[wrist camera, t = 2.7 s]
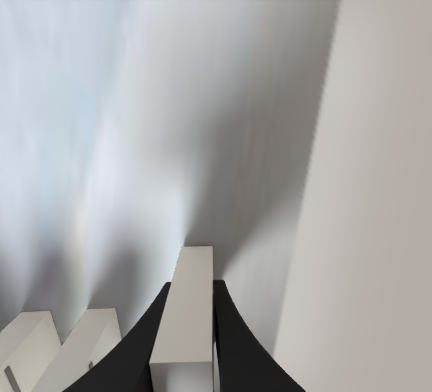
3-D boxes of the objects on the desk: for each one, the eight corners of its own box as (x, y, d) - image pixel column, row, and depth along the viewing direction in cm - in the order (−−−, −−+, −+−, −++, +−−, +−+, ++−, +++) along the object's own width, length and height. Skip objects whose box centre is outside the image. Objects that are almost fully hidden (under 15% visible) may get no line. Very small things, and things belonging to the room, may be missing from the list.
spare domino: (214, 296, 15) (216, 437, 8) (185, 297, 15) (161, 438, 8) (213, 245, 13) (213, 361, 7) (181, 246, 13) (149, 362, 7)
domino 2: (124, 348, 16) (65, 502, 9) (97, 349, 16) (19, 504, 9) (116, 307, 15) (41, 450, 8) (87, 309, 15) (-12, 453, 8)
